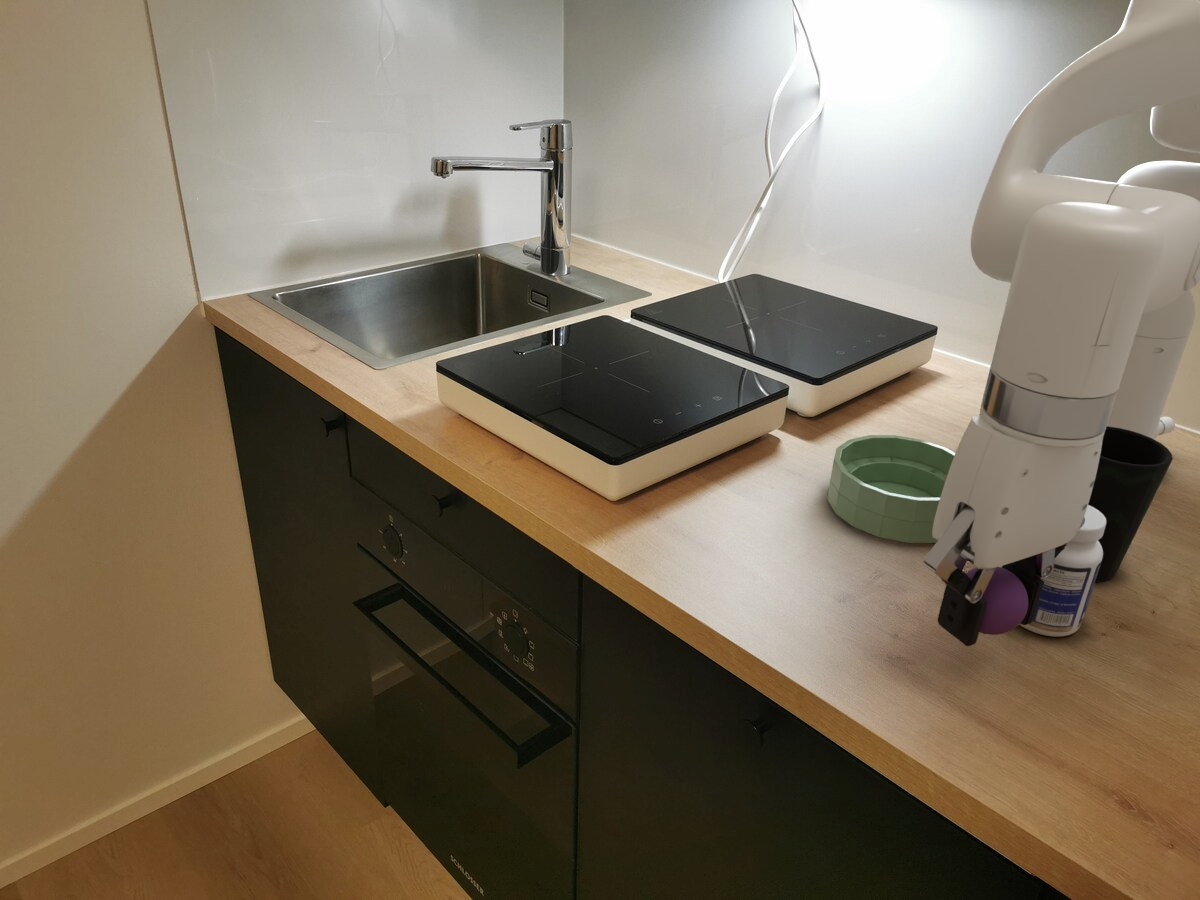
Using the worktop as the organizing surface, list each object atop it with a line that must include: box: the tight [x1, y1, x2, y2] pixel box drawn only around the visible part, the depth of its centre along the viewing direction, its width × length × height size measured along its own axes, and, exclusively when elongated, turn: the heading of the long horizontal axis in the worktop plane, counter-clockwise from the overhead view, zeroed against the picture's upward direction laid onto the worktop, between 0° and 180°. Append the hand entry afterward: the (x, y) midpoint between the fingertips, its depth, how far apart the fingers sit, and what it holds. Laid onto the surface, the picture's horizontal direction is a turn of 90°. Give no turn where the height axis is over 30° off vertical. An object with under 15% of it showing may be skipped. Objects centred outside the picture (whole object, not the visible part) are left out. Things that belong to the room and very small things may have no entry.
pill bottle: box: [1018, 505, 1106, 638], centre depth 72 cm, size 6×6×10 cm
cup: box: [1088, 426, 1174, 583], centre depth 79 cm, size 8×8×12 cm
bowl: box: [826, 434, 956, 544], centre depth 88 cm, size 13×13×5 cm
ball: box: [965, 566, 1028, 636], centre depth 66 cm, size 5×5×5 cm
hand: (984, 622), depth 67 cm, fingers closed on ball, 4 cm apart
